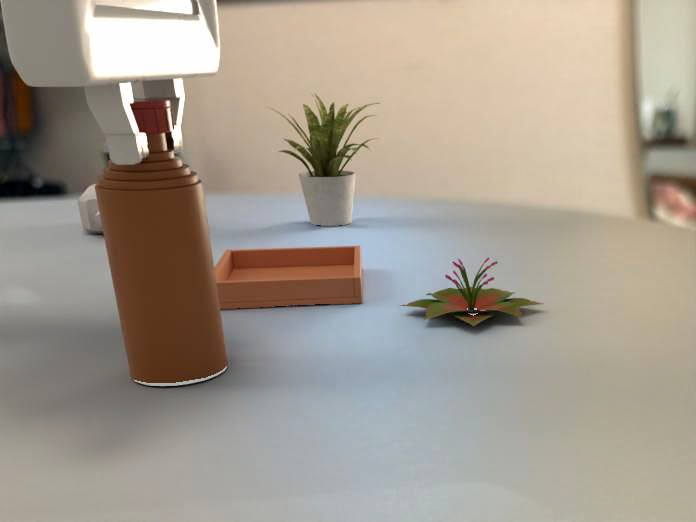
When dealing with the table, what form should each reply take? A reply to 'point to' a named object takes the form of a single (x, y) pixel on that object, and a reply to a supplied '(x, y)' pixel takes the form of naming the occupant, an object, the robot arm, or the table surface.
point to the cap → (153, 115)
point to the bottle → (162, 267)
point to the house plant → (327, 164)
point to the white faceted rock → (90, 211)
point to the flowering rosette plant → (471, 299)
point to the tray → (289, 277)
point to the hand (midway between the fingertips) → (150, 158)
